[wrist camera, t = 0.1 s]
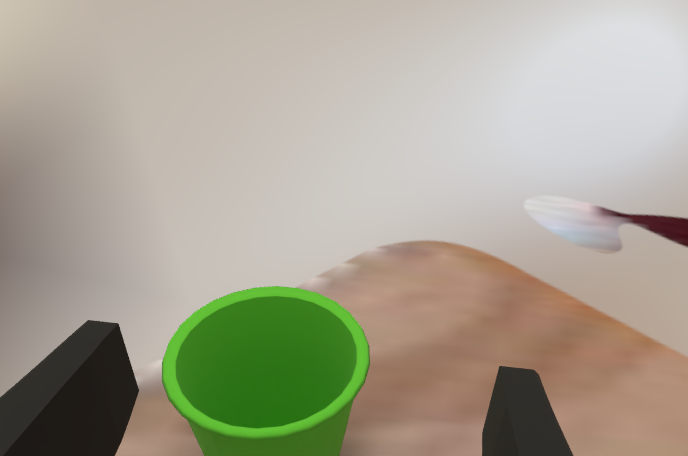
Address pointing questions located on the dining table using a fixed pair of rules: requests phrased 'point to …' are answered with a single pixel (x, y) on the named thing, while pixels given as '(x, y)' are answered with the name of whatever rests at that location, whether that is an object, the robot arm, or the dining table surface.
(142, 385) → the dining table surface
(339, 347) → the cup
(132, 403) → the robot arm
